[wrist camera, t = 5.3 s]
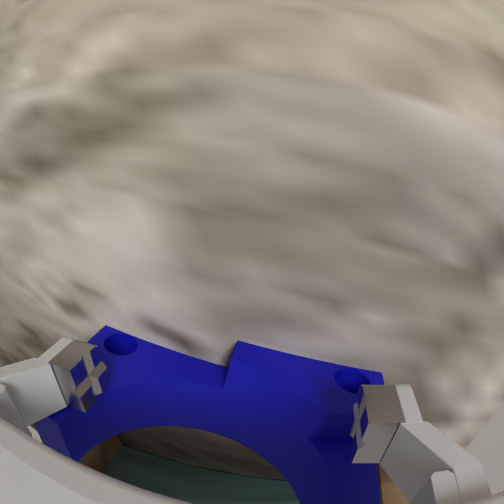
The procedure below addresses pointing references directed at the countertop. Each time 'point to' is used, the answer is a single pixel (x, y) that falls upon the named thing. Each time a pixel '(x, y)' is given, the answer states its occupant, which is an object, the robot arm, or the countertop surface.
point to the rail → (202, 479)
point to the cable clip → (231, 410)
